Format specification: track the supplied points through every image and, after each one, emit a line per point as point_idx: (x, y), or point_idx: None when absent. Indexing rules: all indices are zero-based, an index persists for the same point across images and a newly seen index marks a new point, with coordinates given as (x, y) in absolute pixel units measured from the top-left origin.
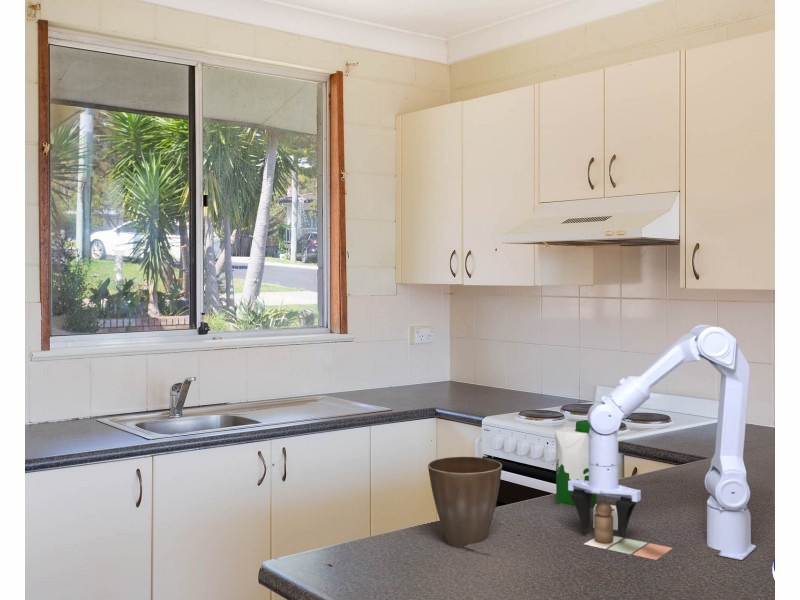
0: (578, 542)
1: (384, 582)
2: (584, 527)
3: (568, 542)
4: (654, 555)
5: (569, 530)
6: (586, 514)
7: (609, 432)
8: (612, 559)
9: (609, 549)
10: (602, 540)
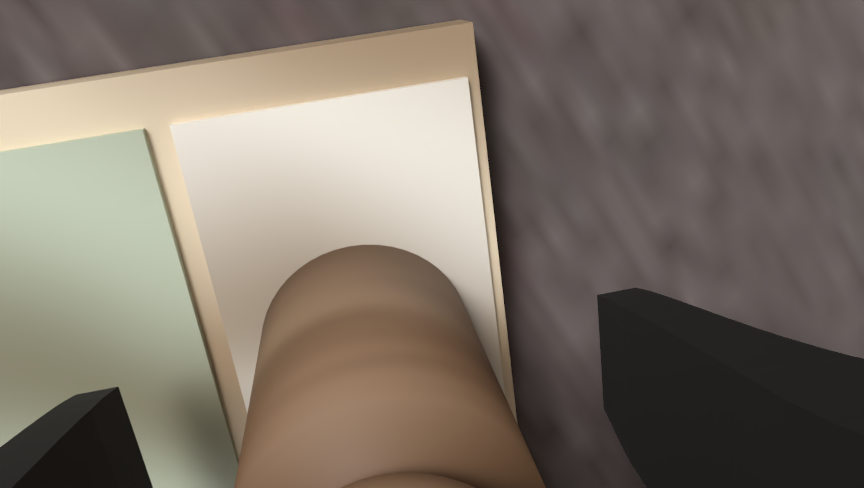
0: (624, 234)
1: None
2: (612, 298)
3: (701, 159)
4: None
5: None
6: (698, 458)
7: None
8: (16, 29)
9: (115, 134)
10: (316, 267)
